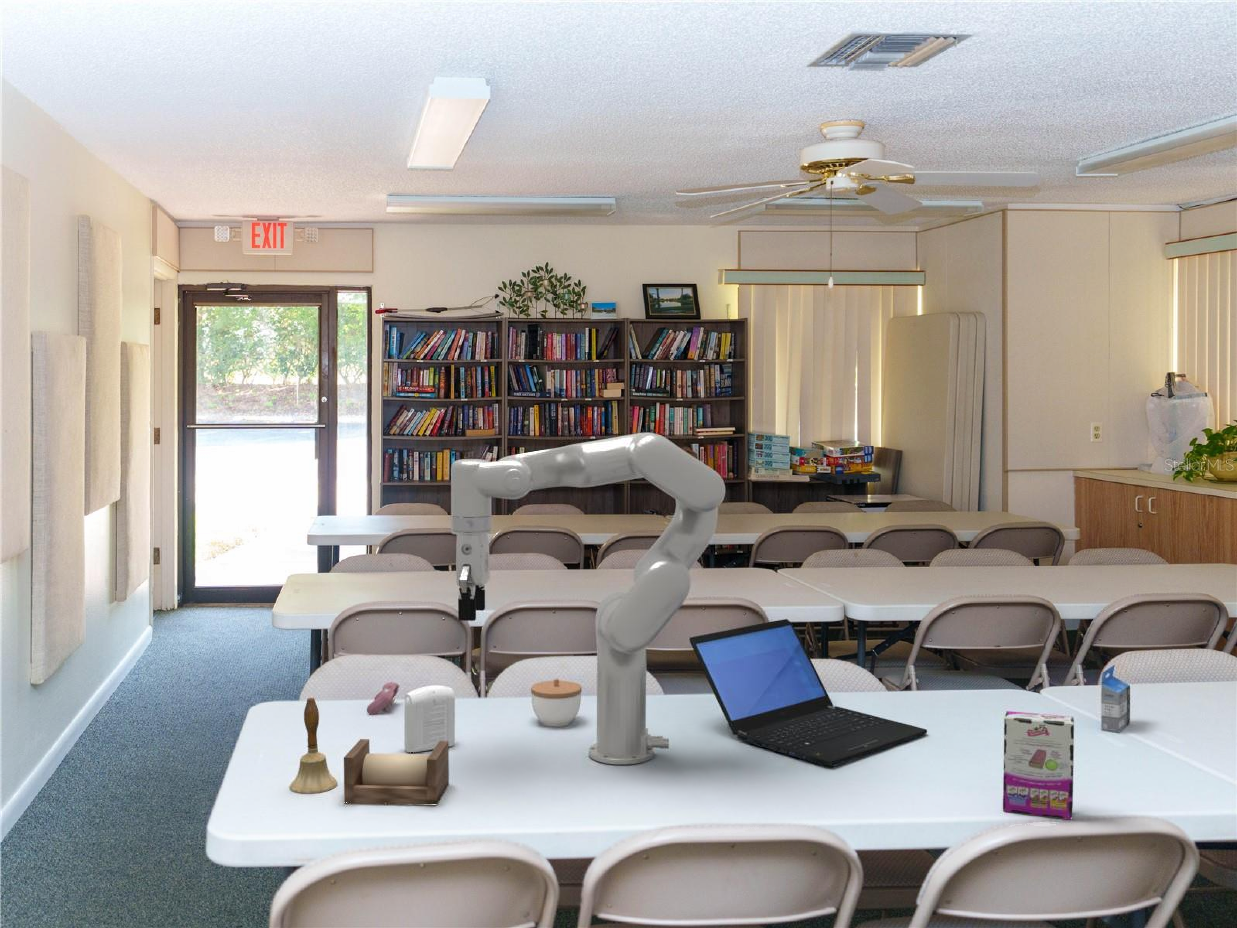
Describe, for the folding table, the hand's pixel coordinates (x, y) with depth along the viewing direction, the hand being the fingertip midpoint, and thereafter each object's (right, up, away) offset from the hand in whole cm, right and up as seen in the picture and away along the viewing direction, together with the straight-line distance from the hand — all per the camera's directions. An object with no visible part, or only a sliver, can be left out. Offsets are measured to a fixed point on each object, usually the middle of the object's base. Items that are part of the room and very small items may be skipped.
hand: (472, 615), depth 222 cm
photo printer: (-10, -28, +11) cm, 31 cm away
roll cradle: (-11, -29, -15) cm, 35 cm away
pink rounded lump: (-24, -26, +38) cm, 52 cm away
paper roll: (-11, -28, -15) cm, 34 cm away
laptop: (+67, -28, +23) cm, 76 cm away
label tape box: (+133, -27, +26) cm, 138 cm away
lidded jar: (+14, -27, +28) cm, 41 cm away
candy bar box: (+99, -31, -23) cm, 106 cm away
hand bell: (-27, -29, -11) cm, 41 cm away
